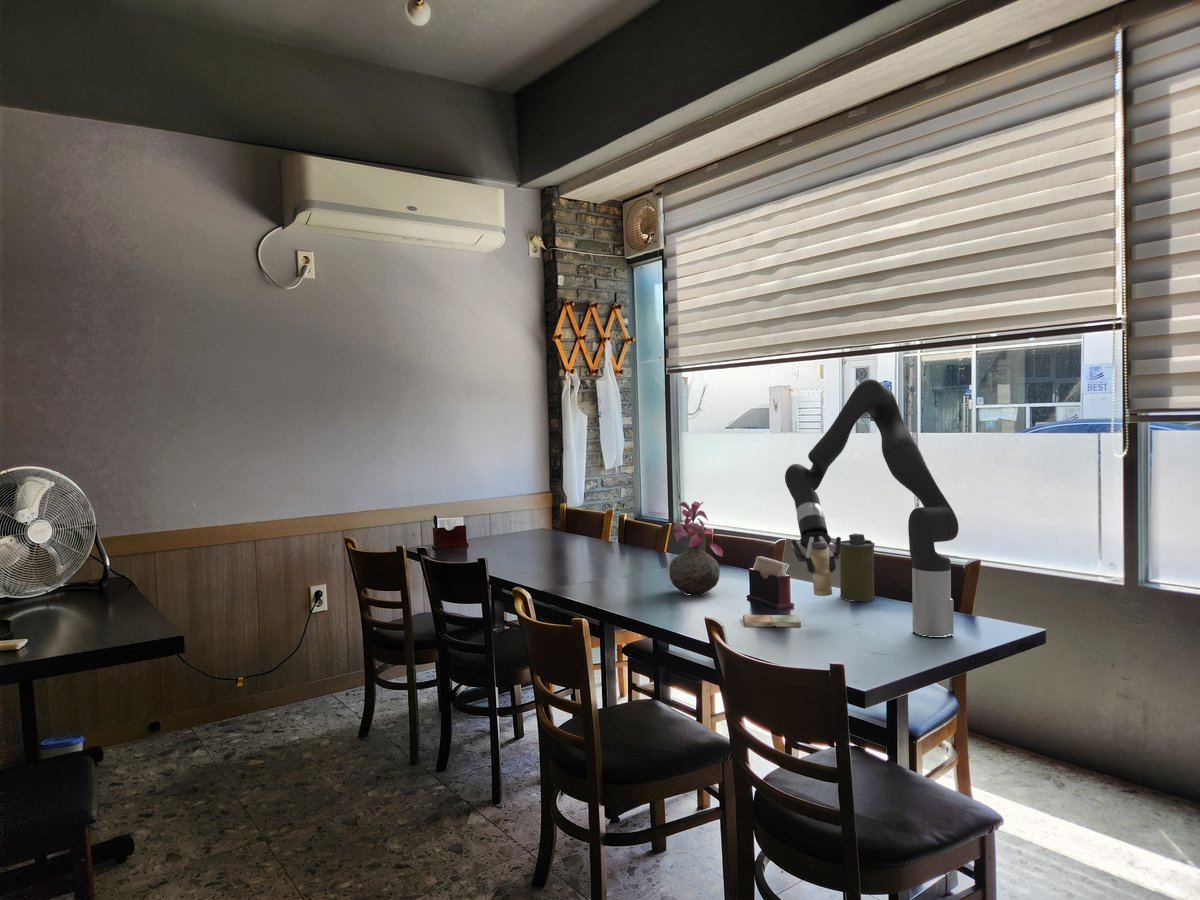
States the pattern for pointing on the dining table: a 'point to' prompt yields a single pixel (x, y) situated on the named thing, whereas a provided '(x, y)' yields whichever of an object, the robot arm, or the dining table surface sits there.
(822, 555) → the pepper mill
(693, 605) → the dining table surface
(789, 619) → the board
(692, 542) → the vase
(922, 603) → the robot arm
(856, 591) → the canister
